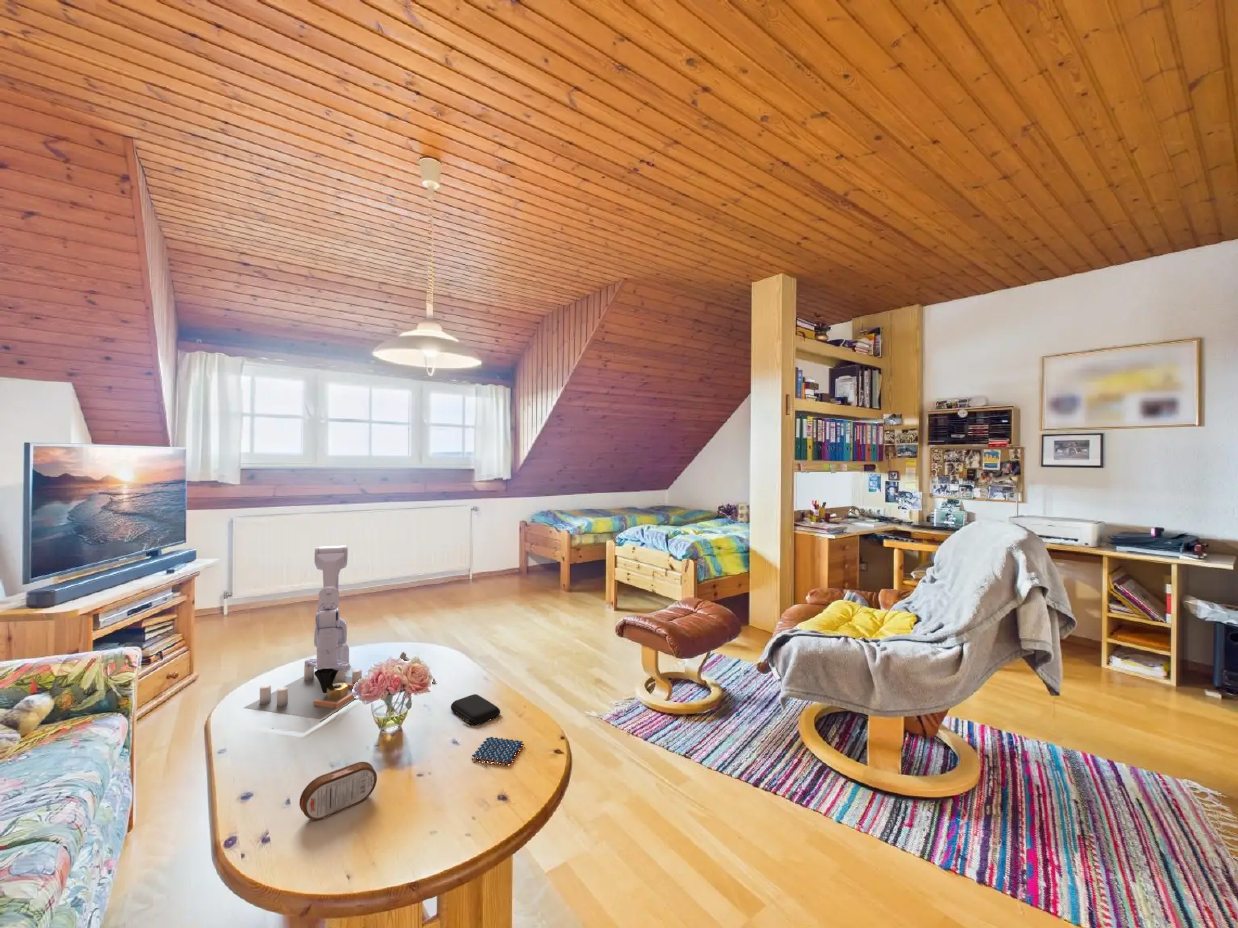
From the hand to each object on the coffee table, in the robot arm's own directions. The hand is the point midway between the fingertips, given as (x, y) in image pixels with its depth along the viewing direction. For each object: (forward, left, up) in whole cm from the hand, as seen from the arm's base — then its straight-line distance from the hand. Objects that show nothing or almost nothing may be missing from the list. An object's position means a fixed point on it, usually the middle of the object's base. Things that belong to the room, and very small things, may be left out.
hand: (326, 691), depth 166 cm
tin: (+43, +40, -2) cm, 59 cm away
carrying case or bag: (-3, +48, -3) cm, 48 cm away
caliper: (-22, +17, -2) cm, 28 cm away
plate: (0, -4, -2) cm, 4 cm away
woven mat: (+15, +64, -3) cm, 66 cm away
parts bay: (0, +5, -1) cm, 5 cm away
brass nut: (0, +4, -1) cm, 4 cm away
